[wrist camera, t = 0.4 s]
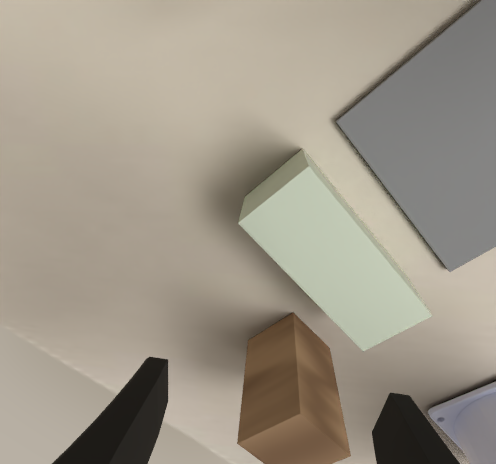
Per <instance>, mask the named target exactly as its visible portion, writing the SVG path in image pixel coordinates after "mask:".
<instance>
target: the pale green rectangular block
mask: <svg viewBox="0 0 496 464" xmlns="http://www.w3.org/2000/svg"><path fill="white" fill-rule="evenodd" d="M238 224H239V225H240V226H241V227H242V228H243V229H244V230H245V231H246V232H247V233H248V234H249V235H250V236H251V237H252V238H253V239H254V240H255V241H256V242H257V243H258V244H259V245H260V246H261V247H262V248H263V249H264V250H265V251H266V253H267V254H268V255H269V256H270V257H271V258H272V259H273V260H274V261H275V262H276V263H277V264H278V265H279V266H280V267H281V268H282V269H283V270H284V271H285V272H286V273H287V274H288V275H289V276H290V277H291V278H292V279H293V280H294V281H295V282H296V283H297V284H298V285H299V286H300V287H301V288H302V289H303V290H304V292H305V293H306V294H307V295H308V296H309V297H310V298H311V299H312V300H313V301H314V302H315V303H316V304H317V305H318V306H319V307H320V308H321V309H322V310H323V311H324V312H325V313H326V314H327V315H328V316H329V317H330V318H331V319H332V320H333V321H334V322H335V323H336V324H337V325H338V326H339V327H340V328H341V329H342V331H343V332H344V333H345V334H346V335H347V336H348V337H349V338H350V339H351V340H352V341H353V342H354V343H355V344H356V345H357V346H358V347H359V348H360V349H361V350H362V351H363V352H364V351H366V350H367V349H369V348H371V347H373V346H375V345H377V344H379V343H381V342H383V341H385V340H387V339H389V338H391V337H393V336H395V335H397V334H398V333H400V332H402V331H404V330H406V329H408V328H410V327H412V326H414V325H416V324H418V323H420V322H422V321H424V320H426V319H428V318H430V317H431V316H432V314H431V313H430V311H429V310H428V308H427V306H426V305H425V303H424V302H423V300H422V299H421V297H420V296H419V294H418V293H417V291H416V289H415V288H414V286H413V285H412V283H411V282H410V280H409V279H408V277H407V276H406V275H405V273H404V272H403V271H402V270H401V268H400V267H399V266H398V265H397V263H396V262H395V261H394V260H393V259H392V257H391V256H390V255H389V254H388V252H387V251H386V250H385V249H384V248H383V246H382V245H381V244H380V243H379V241H378V240H377V239H376V238H375V237H374V235H373V234H372V233H371V232H370V230H369V229H368V228H367V227H366V226H365V224H364V223H363V222H362V221H361V219H360V218H359V217H358V216H357V214H356V213H355V212H354V211H353V210H352V208H351V207H350V206H349V205H348V203H347V202H346V201H345V200H344V199H343V197H342V196H341V195H340V194H339V192H338V191H337V190H336V189H335V188H334V186H333V185H332V184H331V183H330V181H329V180H328V179H327V178H326V177H325V175H324V174H323V173H322V172H321V170H320V169H319V168H318V167H317V166H316V164H315V163H314V162H313V161H312V159H311V158H310V157H309V156H308V154H307V153H306V152H305V151H304V150H303V149H301V150H300V151H299V152H298V153H297V154H295V155H294V156H293V157H292V158H291V159H289V160H288V161H287V162H286V163H285V164H283V165H282V166H281V167H280V168H279V169H277V170H276V171H275V172H274V173H273V174H271V175H270V176H269V177H268V178H267V179H266V180H264V181H263V182H262V183H261V184H260V185H258V186H257V187H256V188H255V189H254V190H252V191H251V192H250V193H249V194H248V195H246V196H245V198H244V202H243V206H242V209H241V213H240V217H239V221H238Z"/></svg>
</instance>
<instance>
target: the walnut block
mask: <svg viewBox="0 0 496 464" xmlns="http://www.w3.org/2000/svg"><path fill="white" fill-rule="evenodd" d="M237 444H239V445H240V446H241V447H243V448H244V449H245V450H247V451H248V452H249V453H251V454H252V455H254V456H255V457H256V458H258V459H259V460H260V461H262V462H263V463H264V464H332V463H334V462H337V461H340V460H342V459H345V458H347V457H350V456H351V455H350V449H349V444H348V439H347V434H346V429H345V424H344V419H343V414H342V409H341V404H340V398H339V393H338V388H337V383H336V378H335V373H334V368H333V363H332V358H331V353H330V348H329V347H328V346H327V345H326V344H325V343H324V342H323V341H322V340H321V339H320V338H319V337H318V336H317V335H316V334H315V333H314V332H313V331H312V330H311V329H310V328H309V327H308V326H307V325H306V324H304V323H303V322H302V321H301V320H300V319H299V318H298V317H297V316H296V315H295V314H294V313H291V314H290V315H288V316H287V317H285V318H283V319H282V320H280V321H278V322H277V323H275V324H274V325H272V326H270V327H269V328H267V329H266V330H264V331H262V332H261V333H259V334H258V335H256V336H254V337H253V338H251V339H249V340H248V346H247V356H246V365H245V375H244V385H243V394H242V404H241V413H240V423H239V432H238V442H237Z"/></svg>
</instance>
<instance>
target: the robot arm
mask: <svg viewBox="0 0 496 464" xmlns="http://www.w3.org/2000/svg"><path fill="white" fill-rule="evenodd" d="M167 403H168V360H167V359H160V358H154V357H149V358H147V359H146V360H145V361H144V363H143V364H142V365H141V367H140V368H139V369H138V371H137V372H136V373H135V374H134V376H133V377H132V378H131V379H130V381H129V382H128V383H127V384H126V385H125V387H124V388H123V389H122V390H121V391H120V393H119V394H118V395H117V396H116V397H115V399H114V400H113V401H112V402H111V403H110V404H109V405H108V406H107V407H106V409H105V410H104V411H103V412H102V413H101V414H100V415H99V416H98V418H97V419H96V420H95V421H94V422H93V423H92V424H91V425H90V426H89V427H88V428H87V429H86V430H85V431H84V432H83V433H82V434H81V436H79V437H78V438H77V439H76V440H75V441H74V442H73V444H72V445H71V446H70V447H69V448H68V449H67V450H66V451H65V452H64V453H63V454H62V455H60V456H59V458H58V459H56V460H55V461H54V462H53V463H52V464H148V461H149V458H150V456H151V453H152V451H153V448H154V445H155V443H156V440H157V438H158V435H159V431H160V428H161V424H162V421H163V418H164V414H165V410H166V407H167ZM428 414H429V416H430V418H431V419H432V420H433V421H434V422H435V423H436V424H437V425H438V426H439V427H440V428H441V429H442V430H443V431H444V432H445V433H446V434H447V435H448V436H449V437H450V438H451V440H452V441H453V442H454V443H455V444H456V445H457V446H458V447H459V448H460V449H461V450H462V451H463V452H464V454H465V456H466V458H467V460H468V462H469V464H496V382H493V383H491V384H488V385H486V386H483V387H481V388H478V389H476V390H474V391H471V392H469V393H466V394H464V395H461V396H459V397H456V398H454V399H452V400H449V401H447V402H444V403H442V404H439V405H437V406H435V407H432V408H430V409H429V410H428ZM372 436H373V443H374V449H375V456H376V461H377V464H460V463H459V462H458V461H457V459H456V458H455V457H454V455H453V454H452V453H451V451H450V450H449V449H448V447H447V446H446V445H445V443H444V442H443V441H442V439H441V438H440V437H439V435H438V434H437V433H436V431H435V430H434V428H433V427H432V426H431V424H430V423H429V422H428V420H427V419H426V418H425V416H424V415H423V413H422V412H421V411H420V409H419V408H418V407H417V405H416V404H415V403H414V401H413V400H412V399H411V397H410V396H408V395H402V394H395V393H390V394H389V396H388V398H387V401H386V403H385V405H384V407H383V409H382V411H381V414H380V416H379V418H378V420H377V422H376V425H375V427H374V429H373V431H372Z"/></svg>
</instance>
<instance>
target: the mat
mask: <svg viewBox="0 0 496 464" xmlns="http://www.w3.org/2000/svg"><path fill="white" fill-rule="evenodd" d="M336 122H337V124H338V125H339V126H340V128H341V129H342V130H343V132H344V133H345V134H346V136H347V137H348V138H349V140H350V141H351V142H352V144H353V145H354V146H355V148H356V149H357V150H358V152H359V153H360V154H361V156H362V157H363V158H364V160H365V161H366V162H367V164H368V165H369V166H370V168H371V169H372V170H373V171H374V173H375V174H376V175H377V177H378V178H379V179H380V181H381V182H382V183H383V185H384V186H385V187H386V189H387V190H388V191H389V193H390V194H391V195H392V197H393V198H394V199H395V201H396V202H397V203H398V205H399V206H400V207H401V209H402V210H403V211H404V213H405V214H406V215H407V217H408V218H409V219H410V220H411V222H412V223H413V224H414V226H415V227H416V228H417V230H418V231H419V232H420V234H421V235H422V236H423V238H424V239H425V240H426V242H427V243H428V244H429V246H430V247H431V248H432V250H433V251H434V252H435V254H436V255H437V256H438V258H439V259H440V260H441V262H442V263H443V264H444V266H445V267H446V268H447V269H448V271H449V272H451V271H453V270H455V269H456V268H458V267H460V266H462V265H464V264H465V263H467V262H469V261H471V260H473V259H474V258H476V257H478V256H480V255H482V254H483V253H485V252H487V251H489V250H491V249H492V248H494V247H496V0H480V1H478V2H477V3H476V4H475V5H474V6H472V7H471V8H470V9H469V10H468V11H466V12H465V13H464V14H463V15H462V16H460V17H459V18H458V19H457V20H456V21H454V22H453V23H452V24H451V25H450V26H448V27H447V28H446V29H445V30H444V31H442V32H441V33H440V34H439V35H438V36H436V37H435V38H434V39H433V40H432V41H431V42H429V43H428V44H427V45H426V46H425V47H423V48H422V49H421V50H420V51H419V52H417V53H416V54H415V55H414V56H413V57H411V58H410V59H409V60H408V61H407V62H405V63H404V64H403V65H402V66H401V67H399V68H398V69H397V70H396V71H395V72H393V73H392V74H391V75H390V76H389V77H387V78H386V79H385V80H384V81H383V82H381V83H380V84H379V85H378V86H377V87H376V88H374V89H373V90H372V91H371V92H370V93H368V94H367V95H366V96H365V97H364V98H362V99H361V100H360V101H359V102H358V103H356V104H355V105H354V106H353V107H352V108H350V109H349V110H348V111H347V112H346V113H344V114H343V115H342V116H341V117H340V118H338V119H337V120H336Z"/></svg>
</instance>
